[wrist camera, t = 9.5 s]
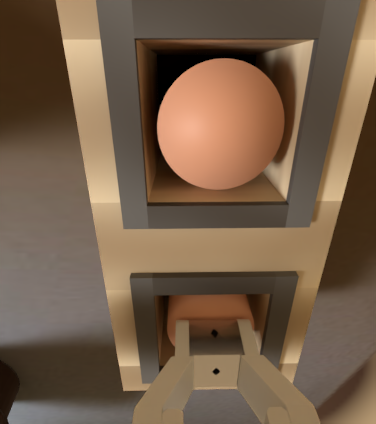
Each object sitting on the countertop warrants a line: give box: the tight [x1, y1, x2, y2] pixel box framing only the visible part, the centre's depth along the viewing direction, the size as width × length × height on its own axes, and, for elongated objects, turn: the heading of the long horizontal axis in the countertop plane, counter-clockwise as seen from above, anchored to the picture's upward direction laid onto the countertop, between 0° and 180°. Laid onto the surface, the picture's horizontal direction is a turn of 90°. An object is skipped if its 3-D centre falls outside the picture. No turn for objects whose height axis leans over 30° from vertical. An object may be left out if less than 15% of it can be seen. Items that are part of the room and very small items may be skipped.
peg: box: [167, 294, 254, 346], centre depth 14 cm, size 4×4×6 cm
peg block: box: [56, 0, 376, 391], centre depth 12 cm, size 16×8×6 cm, turn 0°
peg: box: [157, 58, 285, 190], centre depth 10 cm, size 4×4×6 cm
